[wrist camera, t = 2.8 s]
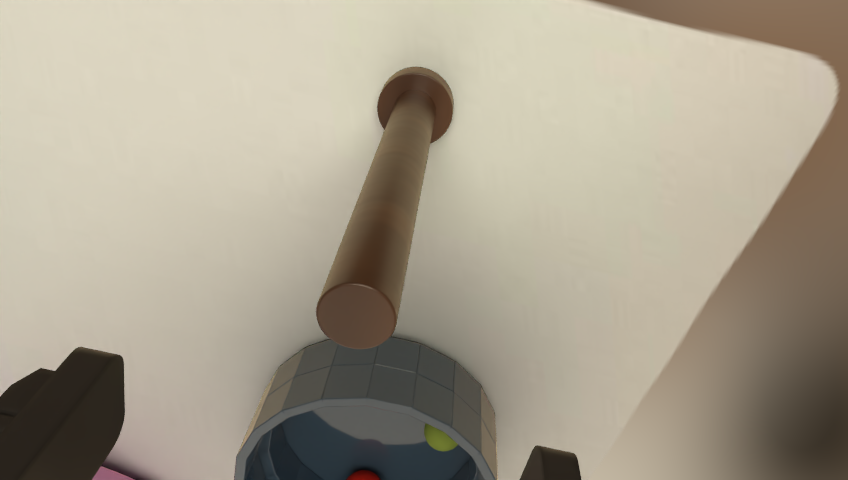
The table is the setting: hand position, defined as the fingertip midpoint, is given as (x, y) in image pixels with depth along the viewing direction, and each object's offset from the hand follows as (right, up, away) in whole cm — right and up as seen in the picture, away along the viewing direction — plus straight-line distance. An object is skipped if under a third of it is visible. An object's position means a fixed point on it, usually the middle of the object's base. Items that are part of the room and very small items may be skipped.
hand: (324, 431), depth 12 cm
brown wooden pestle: (+2, +10, +19) cm, 22 cm away
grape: (+3, -8, +27) cm, 28 cm away
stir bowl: (-1, -8, +30) cm, 31 cm away
